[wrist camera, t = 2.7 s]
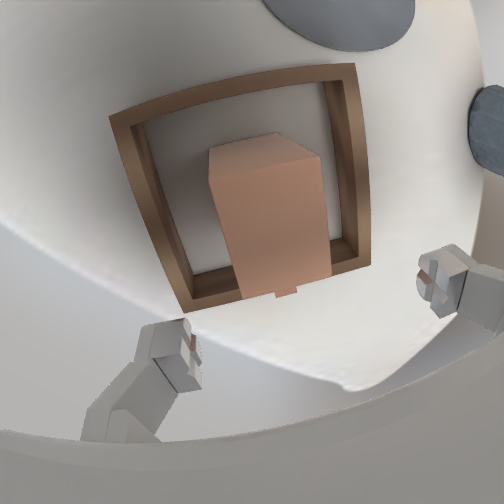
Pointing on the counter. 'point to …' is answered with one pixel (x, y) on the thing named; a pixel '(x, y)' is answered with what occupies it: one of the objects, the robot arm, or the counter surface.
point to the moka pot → (488, 129)
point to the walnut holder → (130, 120)
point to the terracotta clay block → (271, 213)
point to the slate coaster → (347, 21)
